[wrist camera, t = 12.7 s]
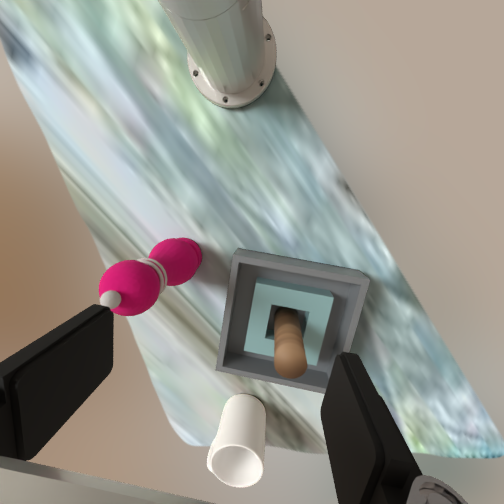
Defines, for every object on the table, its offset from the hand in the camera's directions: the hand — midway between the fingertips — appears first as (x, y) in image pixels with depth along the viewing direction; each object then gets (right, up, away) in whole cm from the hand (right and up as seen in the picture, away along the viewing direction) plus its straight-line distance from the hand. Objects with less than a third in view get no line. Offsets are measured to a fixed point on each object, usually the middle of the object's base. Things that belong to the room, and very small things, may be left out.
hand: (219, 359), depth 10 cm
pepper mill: (-10, +4, +32) cm, 34 cm away
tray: (+7, -6, +32) cm, 34 cm away
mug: (-1, -28, +38) cm, 47 cm away
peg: (+7, -7, +31) cm, 33 cm away
